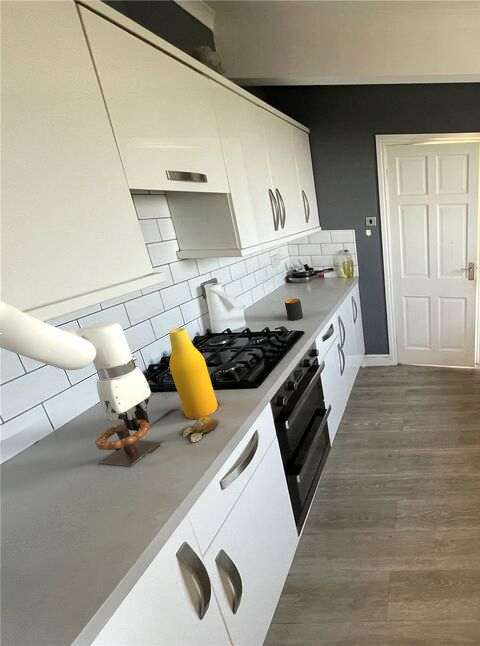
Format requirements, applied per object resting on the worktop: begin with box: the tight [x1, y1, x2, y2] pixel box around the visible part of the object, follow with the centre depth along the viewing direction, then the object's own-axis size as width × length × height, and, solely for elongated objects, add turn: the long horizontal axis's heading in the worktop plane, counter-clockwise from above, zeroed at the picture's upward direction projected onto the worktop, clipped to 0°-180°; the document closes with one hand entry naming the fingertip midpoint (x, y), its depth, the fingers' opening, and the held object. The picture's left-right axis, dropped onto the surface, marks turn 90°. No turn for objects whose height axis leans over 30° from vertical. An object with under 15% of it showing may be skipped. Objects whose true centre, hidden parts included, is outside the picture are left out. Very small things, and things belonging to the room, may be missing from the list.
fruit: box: [182, 416, 217, 443], centre depth 104 cm, size 8×8×4 cm
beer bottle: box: [168, 327, 218, 420], centre depth 109 cm, size 9×9×29 cm
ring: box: [94, 420, 151, 451], centre depth 93 cm, size 11×11×2 cm
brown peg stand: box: [100, 426, 161, 467], centre depth 94 cm, size 9×9×9 cm
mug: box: [284, 298, 304, 322], centre depth 198 cm, size 8×12×10 cm
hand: (139, 426), depth 97 cm, fingers closed on ring, 2 cm apart
